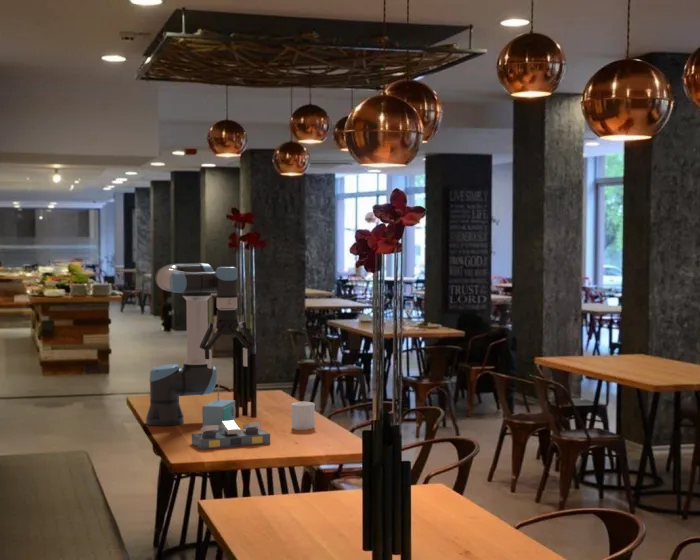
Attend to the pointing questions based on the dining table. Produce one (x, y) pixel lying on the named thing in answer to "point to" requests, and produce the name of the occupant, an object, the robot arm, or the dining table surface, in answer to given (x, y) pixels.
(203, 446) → the console
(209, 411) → the radio
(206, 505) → the dining table surface
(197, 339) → the robot arm
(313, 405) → the cup
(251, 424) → the rocker
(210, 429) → the rocker
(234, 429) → the rocker
